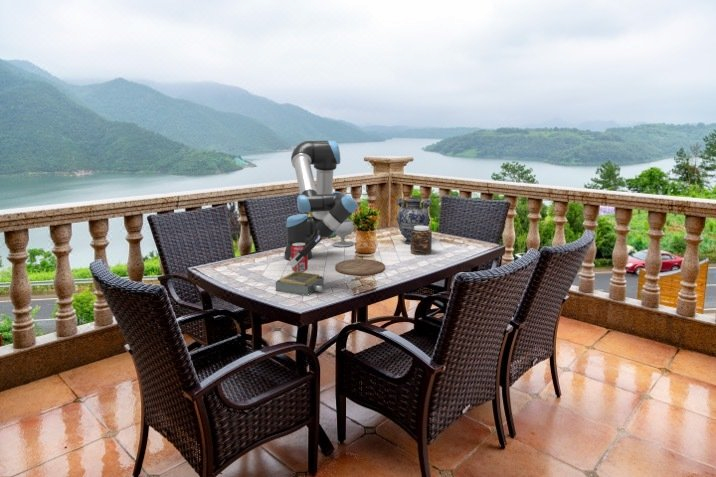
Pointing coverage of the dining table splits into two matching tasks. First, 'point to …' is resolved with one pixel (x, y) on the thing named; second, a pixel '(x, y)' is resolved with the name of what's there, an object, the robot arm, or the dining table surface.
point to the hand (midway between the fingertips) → (291, 262)
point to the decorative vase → (412, 215)
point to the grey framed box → (300, 283)
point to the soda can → (303, 263)
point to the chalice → (344, 233)
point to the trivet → (359, 267)
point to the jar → (421, 240)
